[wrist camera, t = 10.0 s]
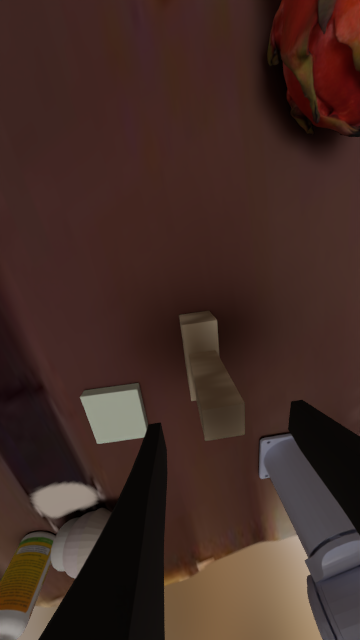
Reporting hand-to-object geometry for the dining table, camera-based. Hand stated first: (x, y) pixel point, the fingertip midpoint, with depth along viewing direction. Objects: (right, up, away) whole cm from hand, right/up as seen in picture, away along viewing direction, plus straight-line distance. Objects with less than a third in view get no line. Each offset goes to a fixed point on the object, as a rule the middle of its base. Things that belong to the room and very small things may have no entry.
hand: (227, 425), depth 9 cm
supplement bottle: (-25, -29, +18) cm, 42 cm away
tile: (-7, -5, +11) cm, 13 cm away
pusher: (-1, +3, +9) cm, 9 cm away
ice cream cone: (-13, -23, +17) cm, 31 cm away
